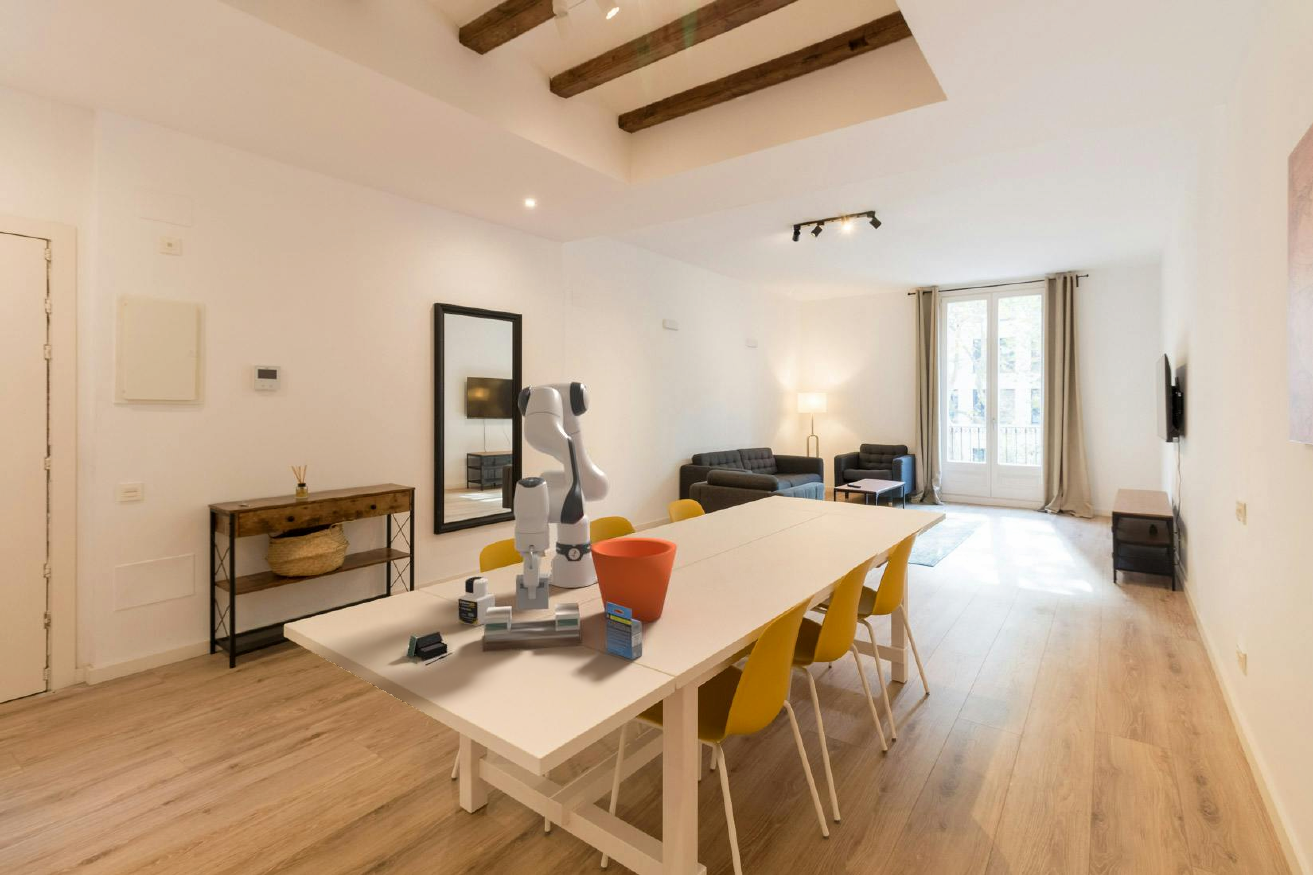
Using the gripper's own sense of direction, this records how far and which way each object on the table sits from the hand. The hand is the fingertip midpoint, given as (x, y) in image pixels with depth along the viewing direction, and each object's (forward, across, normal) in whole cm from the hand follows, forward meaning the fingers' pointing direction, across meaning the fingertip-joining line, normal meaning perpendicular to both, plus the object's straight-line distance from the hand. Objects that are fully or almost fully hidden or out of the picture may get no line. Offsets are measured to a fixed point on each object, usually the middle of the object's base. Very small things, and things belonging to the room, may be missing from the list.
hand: (532, 595), depth 159 cm
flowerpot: (+12, +15, -28) cm, 34 cm away
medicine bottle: (+12, +17, +16) cm, 26 cm away
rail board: (+12, 0, 0) cm, 12 cm away
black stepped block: (+12, -5, +24) cm, 28 cm away
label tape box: (+12, -13, -22) cm, 28 cm away
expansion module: (+3, 0, 0) cm, 3 cm away
